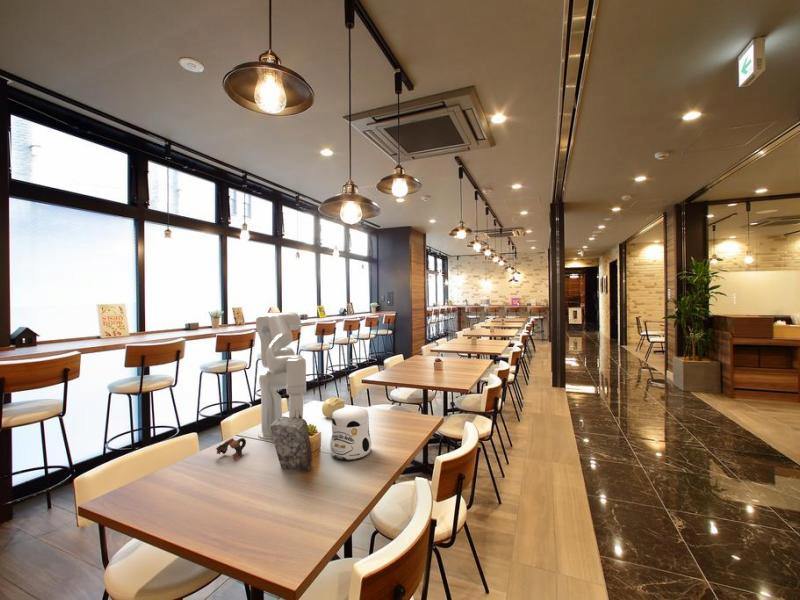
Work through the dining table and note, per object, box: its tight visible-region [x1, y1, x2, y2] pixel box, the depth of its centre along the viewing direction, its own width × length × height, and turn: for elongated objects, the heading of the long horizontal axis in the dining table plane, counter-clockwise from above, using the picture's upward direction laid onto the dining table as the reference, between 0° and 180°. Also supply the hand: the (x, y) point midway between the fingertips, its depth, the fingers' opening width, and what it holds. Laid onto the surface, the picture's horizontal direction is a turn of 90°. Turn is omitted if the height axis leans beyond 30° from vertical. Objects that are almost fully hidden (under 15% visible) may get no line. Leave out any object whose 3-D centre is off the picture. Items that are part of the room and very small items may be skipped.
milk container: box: [329, 406, 372, 462], centre depth 148 cm, size 17×17×18 cm
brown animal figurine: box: [215, 437, 247, 460], centre depth 149 cm, size 12×9×8 cm
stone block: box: [271, 415, 313, 473], centre depth 134 cm, size 13×7×20 cm, turn 75°
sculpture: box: [321, 396, 346, 419], centre depth 197 cm, size 11×12×11 cm
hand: (296, 435), depth 139 cm, fingers closed
